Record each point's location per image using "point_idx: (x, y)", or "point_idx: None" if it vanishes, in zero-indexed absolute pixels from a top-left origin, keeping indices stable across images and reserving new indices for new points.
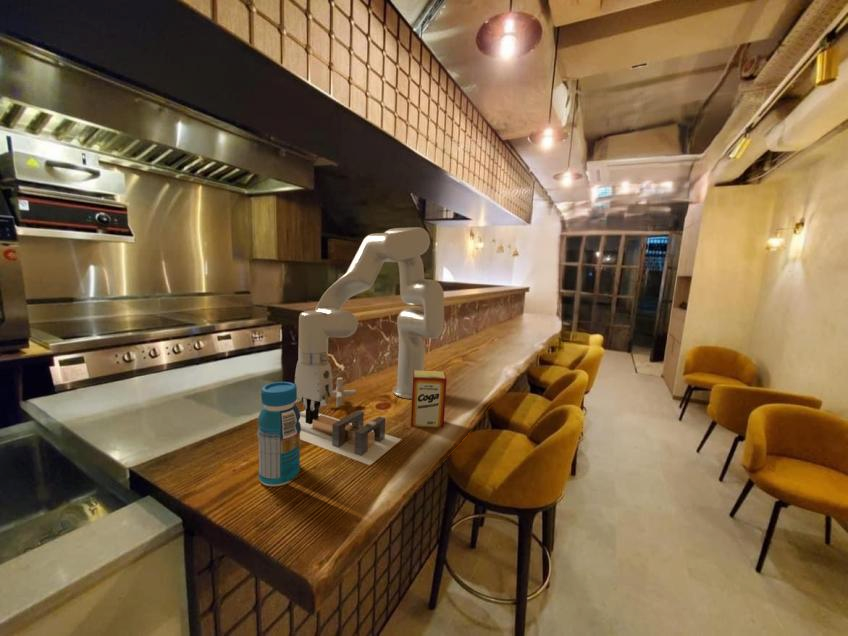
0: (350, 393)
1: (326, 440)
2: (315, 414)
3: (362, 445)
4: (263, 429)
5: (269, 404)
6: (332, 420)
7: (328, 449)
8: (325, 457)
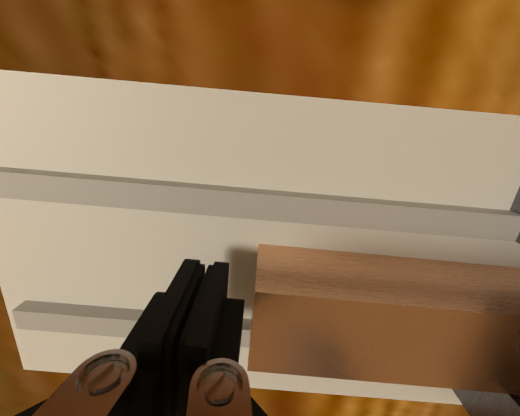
0: None
1: None
2: (238, 361)
3: None
4: None
5: None
6: (405, 327)
7: (440, 401)
8: (431, 404)
